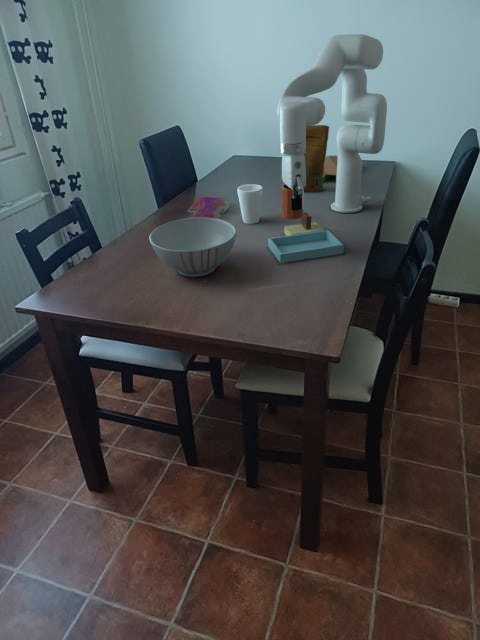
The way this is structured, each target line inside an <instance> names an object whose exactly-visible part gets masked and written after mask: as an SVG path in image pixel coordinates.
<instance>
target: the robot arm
mask: <svg viewBox="0 0 480 640" xmlns="http://www.w3.org/2000/svg"><path fill="white" fill-rule="evenodd" d="M383 58H384V46H383V44H382V42H381V41H380V40H379V39H377V38H375V37H372V36H370V35H367V34H362V33H357V34H356V33H354V34H336V35H333V36H330V37H329V38H328V39H327V40H326V41H325V44H324V45H323V47H322V49H321V51H320V52H319V54H318V56H317V58H316V60H315V62H314V63H313V65H312V67H311V68H309V69H307V70H306V71H304V72H302V73H301V74H300V75H299V76H296V77H295V78H294V79H293V80H291V81H290V82H289V83H288V85H286V87H285V88H284V90H283V93H282V94H281V96H280V98H279V101H278V103H277V107H276V115H277V118H278V120H279V154H280V155H281V181H282V182H283V185H284V184H286V185H287V186H288V187H289V188H291V190H292V197H293V198H291V210H292V211H294V210H301V209H302V193H303V188H304V187H305V186H306V166H305V156H304V154H305V150H306V126H311V125H319V123H321V122H322V121H323V119H324V117H325V114H326V104H325V102H324V101H323V100H322V99H321V98H318V97H313V95H315V94H319V93H322V92H325V91H328V90H329V89H331V88H333V87H334V86H335V85H336V83H337V81H338V79H339V77H340V79H341V102H340V103H341V107H340V108H341V109H340V110H341V111H340V112H341V113H340V114H341V117H342V119H343V120H344V121H346V122H352V123H353V122H354V123H368V124H369V125H365V124H345V125H342V126H340V128H338V130H337V132H336V137H335V142H336V151H337V156H338V159H337V175H336V176H335V197H334V201H333V202H332V203H331V204H330V209H331V210H332V211H333V212H337V213H342V214H352V213H353V214H354V213H357V212H361V211H362V210H363V207H364V206H363V204H364V203H369V202H371V200H372V198H371V196H365V195H361V187H362V185H361V184H362V173H363V161H362V160H363V159H362V157H361V156H360V154H367V155H370V154H371V155H376V154H379V153H380V152H381V151H382V150H383V147H384V143H385V138H386V137H385V136H386V127H387V126H386V124H387V114H388V102H387V99H386V97H385V95H383V94H381V93H371V92H368V91H367V90H368V89H367V87H368V77H367V73H366V70H369V71H370V70H375V69H377V68H378V67H379V66H380V65H381V63H382V61H383ZM296 185H297V187H293V186H296ZM296 189H297V191H296V192H295V191H294V190H296Z"/></svg>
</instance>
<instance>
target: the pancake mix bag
mask: <svg viewBox="0 0 480 640" xmlns="http://www.w3.org/2000/svg"><path fill="white" fill-rule="evenodd" d="M329 133H330V126H328V125H326V124H316V125H310V126H306V150H305V154H304V156H305V166H306V186H305V187H304V193H321V192H323V191H324V184H323V172H324V161H325V157H326V156H327V148H328V141H329Z"/></svg>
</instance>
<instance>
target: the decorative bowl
mask: <svg viewBox="0 0 480 640" xmlns="http://www.w3.org/2000/svg"><path fill="white" fill-rule="evenodd" d="M237 233H238V232H237V228H236V226H235V225H234V224H233V223H231V222H230V221H227V220H224V219H221V218H218V219H216V218H213V217H212V218H211V217H209V218H206V217H201V216H200V217H197V218H191V217H187V218H180V219H176V220H172V221H168V222H166V223H164V224H161V225H159V226H158V227H156V228H155V229H153V230H152V231H151V232H150V234H149V239H148V240H149V243H150V245H151V247H152V250H153V251H154V252H155V254H156V255H157V257H158V258H159V259H160V260H161V261H162V262H163V263H164V264H165V265H166V266H168V268H171V269H172V270H175V271H177V272H178V273H179V274H180V275H182V276H185V277H189V278H191V277H192V278H197V277H203V276H207V275H209V274H211V273H213V272H214V271H215V270H216V268H217V267H218V266H220V265H221V264H222V263H223V262H224V261H225V260H226V259H227V258H228V256H229V255H230V253H231V251H232V249H233V248H234V244H235V241H236V238H237Z"/></svg>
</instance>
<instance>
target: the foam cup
mask: <svg viewBox="0 0 480 640" xmlns="http://www.w3.org/2000/svg"><path fill="white" fill-rule="evenodd" d="M236 188H237V189H236V191H237V192H236V193H237V196H238V200H239V207H240V212H241V218H242V222H243V223H244V224H247V225H254V224H257V223H259V222H260V216H261V208H262V199H263V192H264V191H263V186H262V185H260V184H257V183H256V184H255V183H254V184H253V183H247V184H242V185H240V186H238V187H236Z"/></svg>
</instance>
